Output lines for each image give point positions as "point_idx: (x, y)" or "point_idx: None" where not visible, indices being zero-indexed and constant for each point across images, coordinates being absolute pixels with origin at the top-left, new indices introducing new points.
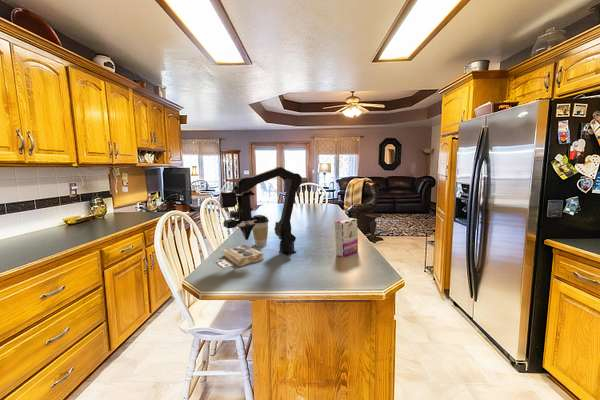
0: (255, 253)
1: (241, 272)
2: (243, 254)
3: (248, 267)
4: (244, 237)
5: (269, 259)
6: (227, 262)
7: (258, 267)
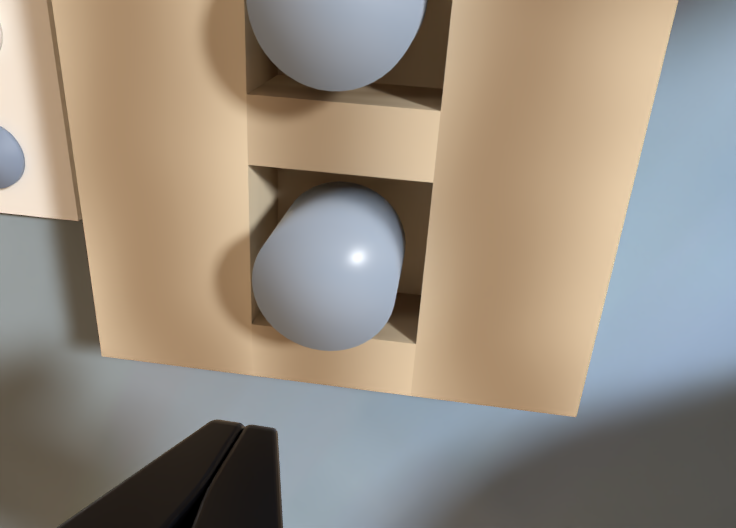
0: (473, 324)
1: (103, 469)
2: (287, 166)
3: (230, 418)
4: (157, 464)
5: (625, 409)
6: (30, 45)
7: (325, 500)
